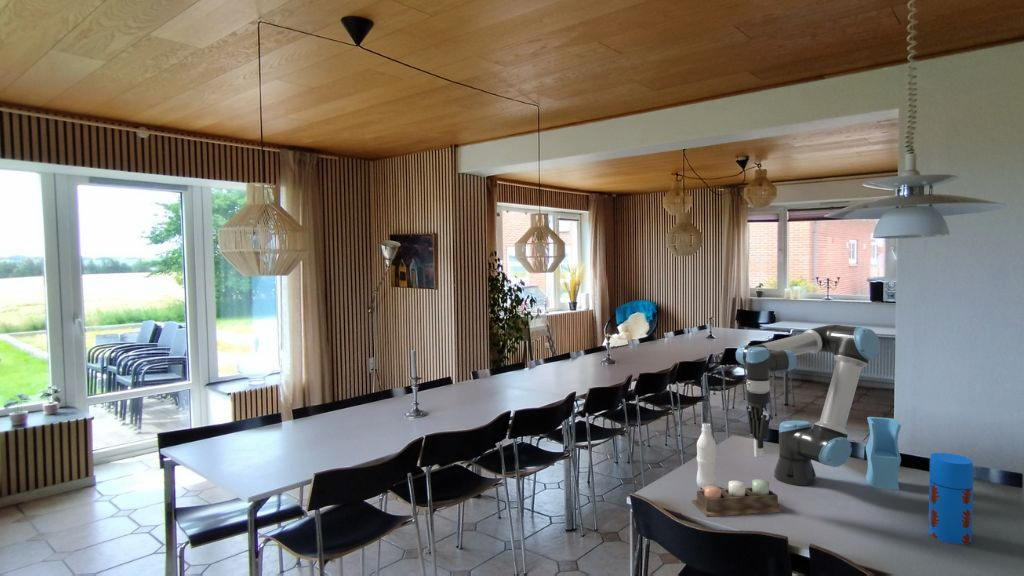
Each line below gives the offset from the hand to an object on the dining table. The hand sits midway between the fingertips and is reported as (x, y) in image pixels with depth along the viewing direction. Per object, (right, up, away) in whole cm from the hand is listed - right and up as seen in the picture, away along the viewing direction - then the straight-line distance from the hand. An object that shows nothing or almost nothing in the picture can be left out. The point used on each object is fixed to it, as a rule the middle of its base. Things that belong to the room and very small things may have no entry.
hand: (758, 456), depth 205 cm
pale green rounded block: (+1, -14, 0) cm, 14 cm away
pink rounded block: (-17, -16, -1) cm, 23 cm away
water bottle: (-13, -18, +17) cm, 28 cm away
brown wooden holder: (-8, -18, 0) cm, 20 cm away
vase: (+56, -17, +19) cm, 62 cm away
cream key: (-8, -15, 0) cm, 17 cm away
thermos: (+50, -18, -24) cm, 58 cm away
